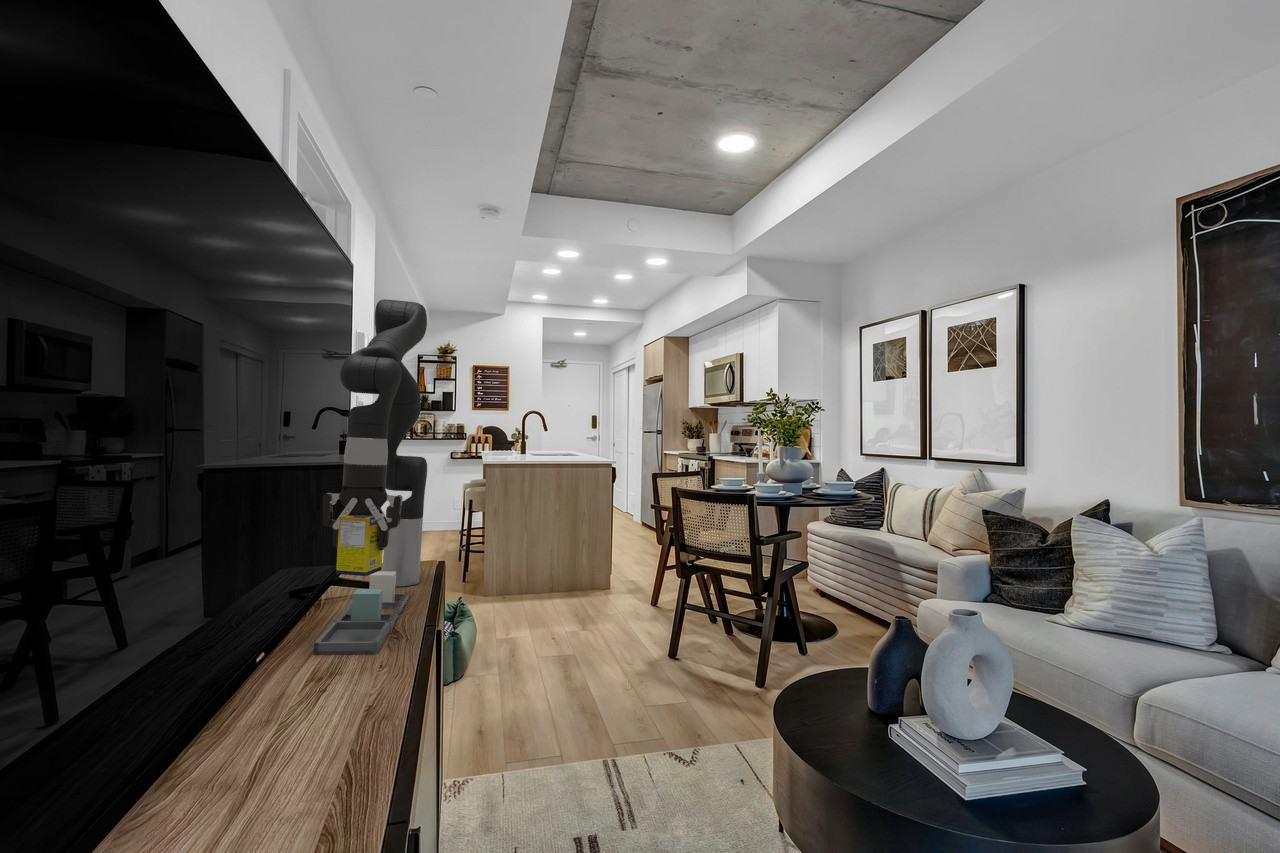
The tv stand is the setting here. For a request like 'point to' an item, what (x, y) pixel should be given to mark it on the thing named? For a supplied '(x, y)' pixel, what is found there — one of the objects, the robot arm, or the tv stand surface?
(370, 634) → the tray
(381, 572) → the cream block
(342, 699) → the tv stand surface
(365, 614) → the sage green square block
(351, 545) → the supplement box
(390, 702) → the tv stand surface
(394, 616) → the rails
